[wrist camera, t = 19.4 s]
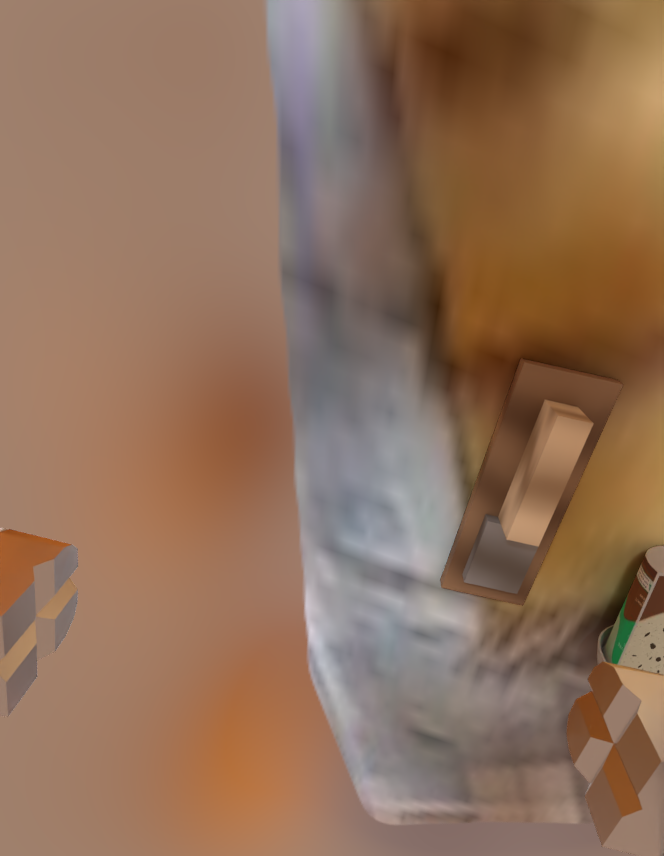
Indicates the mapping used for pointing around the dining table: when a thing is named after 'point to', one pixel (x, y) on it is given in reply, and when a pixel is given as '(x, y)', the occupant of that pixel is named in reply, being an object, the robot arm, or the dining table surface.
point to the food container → (639, 621)
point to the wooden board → (505, 456)
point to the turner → (529, 500)
